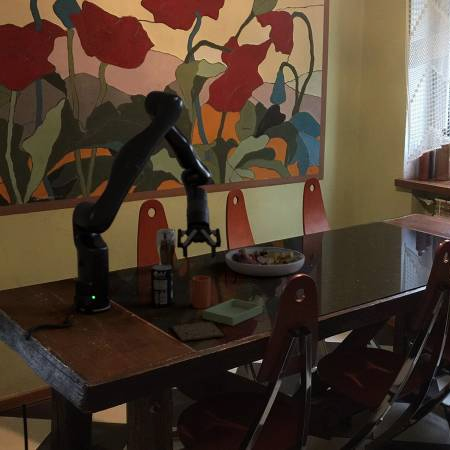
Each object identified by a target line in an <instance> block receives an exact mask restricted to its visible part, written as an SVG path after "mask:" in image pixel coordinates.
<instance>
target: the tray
mask: <svg viewBox="0 0 450 450" xmlns="http://www.w3.org/2000/svg"><path fill="white" fill-rule="evenodd" d="M261 314H263V304H261V303H256V302H251V301H247V300H242V299H237V298H231V299H228V300H226V301H223V302H220V303H218V304H215V305H213V306H210V307H207V308H205V309H203V310H202V319H203V320H206V321H210V322H215V323H220V324H224V325H228V326H230V327H231V326H232V327H233V326H236V325H238V324H241V323H242V322H243V323H244V322H245V321H247V320H250V319H253V317H256V316H258V315H261Z"/></svg>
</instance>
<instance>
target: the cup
mask: <svg viewBox="0 0 450 450" xmlns="http://www.w3.org/2000/svg"><path fill="white" fill-rule="evenodd" d="M191 298H192V299H191V305H192V307H193V308H196V309H208V308H210V307H211V276H207V275H194V276H193V277H191Z"/></svg>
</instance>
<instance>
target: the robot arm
mask: <svg viewBox="0 0 450 450" xmlns="http://www.w3.org/2000/svg"><path fill="white" fill-rule="evenodd" d="M143 107H144V108H143V109H144V111H145V113H146V115H147V117H149V119H150V123H149V124H148V125H147V126H146V127H145V128H144V129H142V130H141V131H139V132H137V133H136V134H135V135H133V136H131V137H130V138H128V139H127V140H126V141H125V142H124V143H123V144H122V145H121V146H120V148H119V149H118V151H117V153H116V154H115V156H114V157H113V158H112V161H111V163H110V167H109V173H108V179H107V184H106V186H105V188H104V190H103V191H102V193H101V194H100V196H99V197H98V198H97V200H96V201H92V200H83V201H80V202H78V203H77V204H76V205H75V207H74V208H73V211H72V215H71V224H72V239H73V244H74V247H75V250H76V266H77V279H76V280H75V281H74V285H75V287H74V288H75V294H73V304H72V305H71V306H70V307H69V309H68V310H67V313H66V316H65V318H64V322H65V323H63V324H54V323H53V324H52V323H51V324H49V323H46V324H45V323H44V324H39V325H35V326H32V327H30V328H29V330H28V332H27V335H26V338H25V342H28V341H30V339H31V337H32V335H33V332H34V331H35V330H39V329H49V328H50V329H65V328H69V327H70V326H71V325H72V323H71V321H69V320H70V317H71V314H72V312H73V311H74V309H75V310H76V311H77V312H81V313H85V314H88V315H89V314H90V315H91V314H97V313H104V312H106V311H109V310H110V309H111V296H110V293H111V292H110V255H109V251H110V250H109V245H108V243H107V242H106V241H105V239H104V238H103V236H102V234H103V233H104V234H105V232H107V231H108V230H109V229H110V228H111V226H112V225H113V223H114V221H115V220H116V217H117V215H118V213H119V211H120V209H121V207H122V205H123V203H124V201H125V199H126V197H128V195H129V193H130V191H131V189H132V188H133V186H134V184H135V183H136V181H137V180H138V178H139V177H140V175H141V174H142V172H143V170H144V169H145V168H146V166H147V164H148V163H149V161H150V159H151V157H152V156H153V155H154V153H155V152H156V150H157V149H158V147H159V145H160V144H161V142H162V141H163V140H165V141H166V144H167V145H168V147H169V148H170V150H171V152H172V154H173V156H174V158H175V160H176V162H177V164H178V166H179V167H180V168H181V169H183V170H182V171H181V174H180V180H181V184H182V186H183V188H184V191H185V195H186V210H185V211H186V215H185V217H186V230H183V229H182V228H177V237H176V248H178V249H182V257H183V258H184V259H185V260H188V248H189V247H190V246H191V245H192V244H198V243H200V244H204V243H205V244H206V245H207V246H209V247H210V253H211V255H210V256H211V259H214V258H215V257H216V256H217V248H221V247H222V237H221V231H220V228H218V227H216V229H211V225H210V210H209V209H210V208H209V205H208V204H209V203H208V202H209V201H208V200H209V199H208V192H207V190H206V189H205V188H204V187H203V186H208V185H209V184H210V183H211V182H212V179H213V176H212V175H213V174H212V171H211V170H210V168H209V167H208V165H207V164H206V163H205V162H204V161H203V160H202V159H201V158H200V157H199V155H198V153H197V151H196V149H195V147H194V145H193V144H192V142H191V140H190V139H189V138H188V137H187V135H186V134H185V133H184V132H183V131H182V130H181V129H180V128H179V126H178V125H176V124H177V122H178V120H179V119H180V117H181V115H182V113H183V110H184V100H183V99H182V97H181V96H180V95H178V94H175V93H172V92H167V91H161V90H152V91H150V92H149V93H148V94H146V96H145V98H144V101H143ZM185 235H186V238H185V240H184V241H183V242H182V238H184V236H185ZM212 235H213V237H215V239H216V240H214V239H213V238H212V237H211V236H212ZM21 410H22V425H23V442H24V450H29V434H28V418H27V417H28V415H27V403H21Z"/></svg>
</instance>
